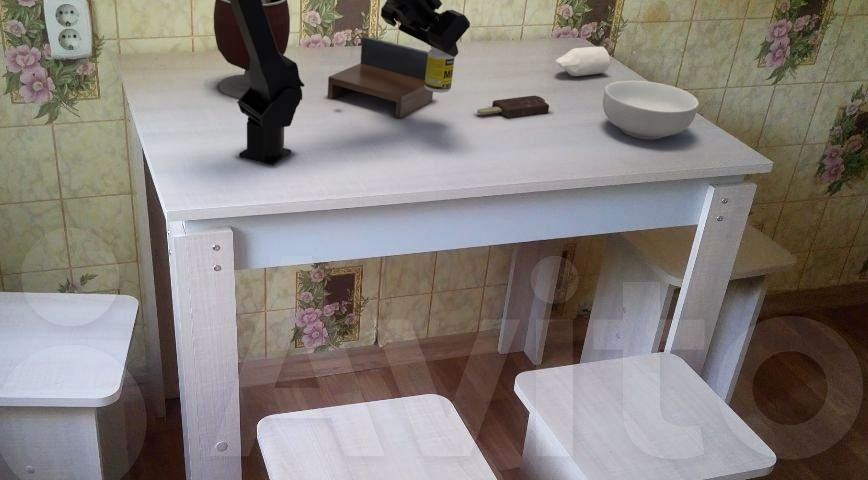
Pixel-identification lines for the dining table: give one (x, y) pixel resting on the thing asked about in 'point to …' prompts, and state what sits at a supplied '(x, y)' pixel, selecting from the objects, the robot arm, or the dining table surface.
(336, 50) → the dining table surface
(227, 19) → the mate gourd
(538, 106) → the ice cream bar
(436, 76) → the supplement bottle
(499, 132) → the dining table surface
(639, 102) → the cereal bowl
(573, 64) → the white tapered cylinder
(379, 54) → the shelf
